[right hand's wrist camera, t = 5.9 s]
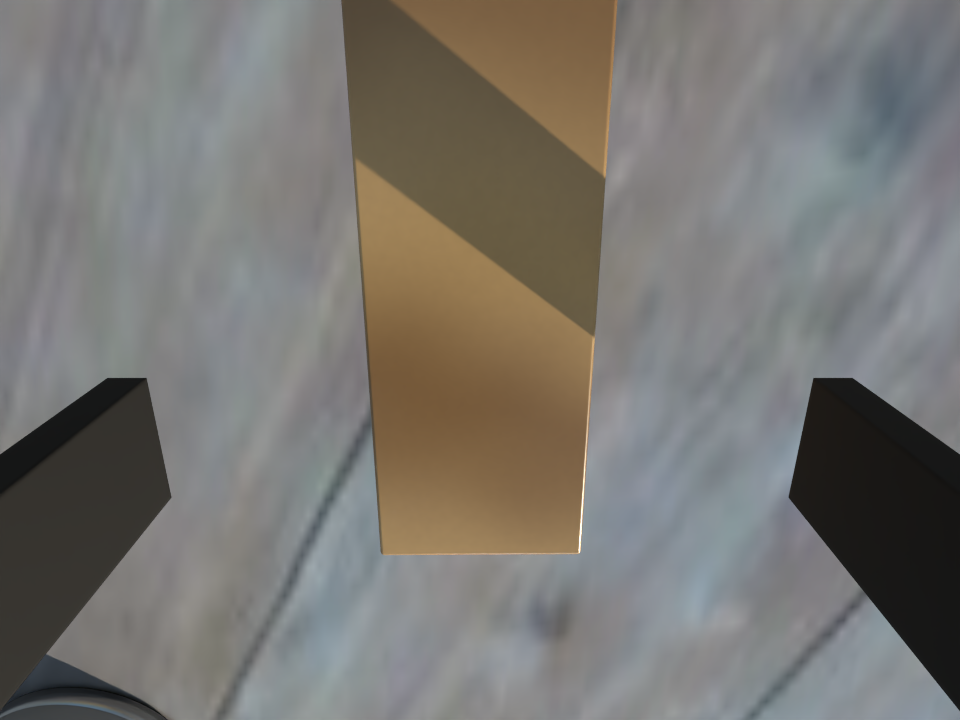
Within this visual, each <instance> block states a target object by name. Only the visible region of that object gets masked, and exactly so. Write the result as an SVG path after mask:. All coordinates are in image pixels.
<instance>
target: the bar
mask: <svg viewBox="0 0 960 720" xmlns="http://www.w3.org/2000/svg"><path fill="white" fill-rule="evenodd" d="M341 2H342V16H343V29H344V43H345V57H346V71H347V85H348V99H349V113H350V127H351V141H352V155H353V169H354V183H355V197H356V211H357V225H358V239H359V253H360V267H361V281H362V295H363V309H364V323H365V337H366V351H367V365H368V379H369V393H370V407H371V421H372V435H373V449H374V463H375V477H376V491H377V505H378V519H379V533H380V547H381V553H382V554H383V555H467V554H579V553H580V551H581V537H582V522H583V507H584V492H585V477H586V462H587V447H588V432H589V417H590V402H591V387H592V372H593V357H594V342H595V328H596V313H597V298H598V283H599V268H600V253H601V238H602V223H603V208H604V193H605V178H606V163H607V148H608V133H609V118H610V104H611V89H612V74H613V59H614V44H615V29H616V14H617V0H341Z"/></svg>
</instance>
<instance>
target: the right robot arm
mask: <svg viewBox="0 0 960 720" xmlns="http://www.w3.org/2000/svg"><path fill="white" fill-rule="evenodd" d="M170 499H171V493H170V488H169V484H168V479H167V474H166V469H165V464H164V460H163V455H162V450H161V445H160V441H159V436H158V431H157V426H156V421H155V417H154V412H153V407H152V402H151V397H150V393H149V388H148V383H147V378H107V379H105V380H104V381H103V382H101V383H100V384H98V385H97V386H96V387H94V388H93V389H91V390H90V391H89V392H87V393H86V394H84V395H83V396H82V397H80V398H79V399H77V400H76V401H75V402H73V403H72V404H70V405H69V406H68V407H66V408H65V409H63V410H62V411H61V412H59V413H58V414H56V415H55V416H54V417H52V418H51V419H49V420H48V421H47V422H45V423H44V424H42V425H41V426H40V427H38V428H37V429H35V430H34V431H32V432H31V433H30V434H28V435H27V436H25V437H24V438H23V439H21V440H20V441H18V442H17V443H16V444H14V445H13V446H11V447H10V448H9V449H7V450H6V451H4V452H3V453H2V454H0V720H167V719H165V718H164V717H163V716H161V715H160V714H158V713H157V712H155V711H153V710H152V709H150V708H148V707H146V706H144V705H142V704H140V703H138V702H136V701H133V700H131V699H128V698H125V697H122V696H119V695H116V694H113V693H108V692H104V691H99V690H93V689H85V688H54V689H46V690H41V691H36V692H33V693H29V694H26V695H24V696H21V697H19V698H17V699H15V700H13V701H11V702H9V703H8V704H6V703H7V702H8V701H9V699H10V698H11V697H12V696H13V694H14V693H15V692H16V691H17V689H18V688H19V687H20V686H21V684H22V683H23V682H24V681H25V679H26V678H27V677H28V676H29V674H30V673H31V672H32V671H33V669H34V668H35V667H36V666H37V664H38V663H39V662H40V661H41V659H42V658H43V657H44V656H45V654H46V653H47V652H48V651H49V649H50V648H51V647H52V646H53V644H54V643H55V642H56V641H57V639H58V638H59V637H60V636H61V634H62V633H63V632H64V631H65V629H66V628H67V627H68V626H69V624H70V623H71V622H72V621H73V619H74V618H75V617H76V616H77V614H78V613H79V612H80V611H81V610H82V608H83V607H84V606H85V605H86V603H87V602H88V601H89V600H90V598H91V597H92V596H93V595H94V593H95V592H96V591H97V590H98V588H99V587H100V586H101V585H102V583H103V582H104V581H105V580H106V578H107V577H108V576H109V575H110V573H111V572H112V571H113V570H114V568H115V567H116V566H117V565H118V563H119V562H120V561H121V560H122V558H123V557H124V556H125V555H126V553H127V552H128V551H129V550H130V548H131V547H132V546H133V545H134V543H135V542H136V541H137V540H138V538H139V537H140V536H141V535H142V533H143V532H144V531H145V530H146V528H147V527H148V526H149V525H150V523H151V522H152V521H153V520H154V519H155V517H156V516H157V515H158V514H159V512H160V511H161V510H162V509H163V507H164V506H165V505H166V504H167V502H168V501H169V500H170ZM789 499H790V500H791V501H792V502H793V504H794V505H795V506H796V507H797V509H798V510H799V511H800V512H801V514H802V515H803V516H804V517H805V519H806V520H807V521H808V522H809V523H810V525H811V526H812V527H813V528H814V530H815V531H816V532H817V533H818V535H819V536H820V537H821V538H822V540H823V541H824V542H825V543H826V545H827V546H828V547H829V548H830V550H831V551H832V552H833V553H834V555H835V556H836V557H837V558H838V560H839V561H840V562H841V563H842V565H843V566H844V567H845V568H846V570H847V571H848V572H849V573H850V575H851V576H852V577H853V578H854V580H855V581H856V582H857V583H858V585H859V586H860V587H861V588H862V590H863V591H864V592H865V593H866V595H867V596H868V597H869V598H870V600H871V601H872V602H873V603H874V605H875V606H876V607H877V608H878V610H879V611H880V612H881V613H882V614H883V616H884V617H885V618H886V619H887V621H888V622H889V623H890V624H891V626H892V627H893V628H894V629H895V631H896V632H897V633H898V634H899V636H900V637H901V638H902V639H903V641H904V642H905V643H906V644H907V646H908V647H909V648H910V649H911V651H912V652H913V653H914V654H915V656H916V657H917V658H918V659H919V661H920V662H921V663H922V664H923V666H924V667H925V668H926V669H927V671H928V672H929V673H930V674H931V676H932V677H933V678H934V679H935V681H936V682H937V683H938V684H939V686H940V687H941V688H942V689H943V691H944V692H945V693H946V694H947V696H948V697H949V698H950V699H951V701H952V702H953V703H954V704H955V705H956V707H957V708H958V709H959V710H960V454H958V453H957V452H956V451H954V450H953V449H951V448H950V447H949V446H947V445H946V444H944V443H943V442H942V441H940V440H939V439H937V438H936V437H935V436H933V435H932V434H930V433H929V432H928V431H926V430H925V429H923V428H922V427H920V426H919V425H918V424H916V423H915V422H913V421H912V420H911V419H909V418H908V417H906V416H905V415H904V414H902V413H901V412H899V411H898V410H897V409H895V408H894V407H892V406H891V405H890V404H888V403H887V402H885V401H884V400H883V399H881V398H880V397H878V396H877V395H876V394H874V393H873V392H871V391H870V390H869V389H867V388H866V387H864V386H863V385H862V384H860V383H859V382H857V381H856V380H855V379H853V378H813V383H812V388H811V393H810V397H809V402H808V407H807V412H806V417H805V421H804V426H803V431H802V436H801V441H800V445H799V450H798V455H797V460H796V464H795V469H794V474H793V479H792V484H791V488H790V493H789ZM5 704H6V705H5ZM4 705H5V706H4Z"/></svg>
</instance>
